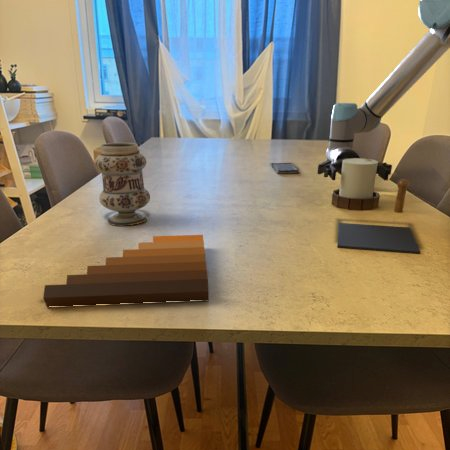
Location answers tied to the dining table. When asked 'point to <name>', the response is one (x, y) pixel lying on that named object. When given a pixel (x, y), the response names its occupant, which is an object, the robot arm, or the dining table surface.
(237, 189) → the dining table surface
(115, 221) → the apothecary jar
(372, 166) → the can
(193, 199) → the dining table surface
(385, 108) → the robot arm
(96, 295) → the pan flute
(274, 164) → the phone
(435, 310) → the dining table surface
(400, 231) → the mat
